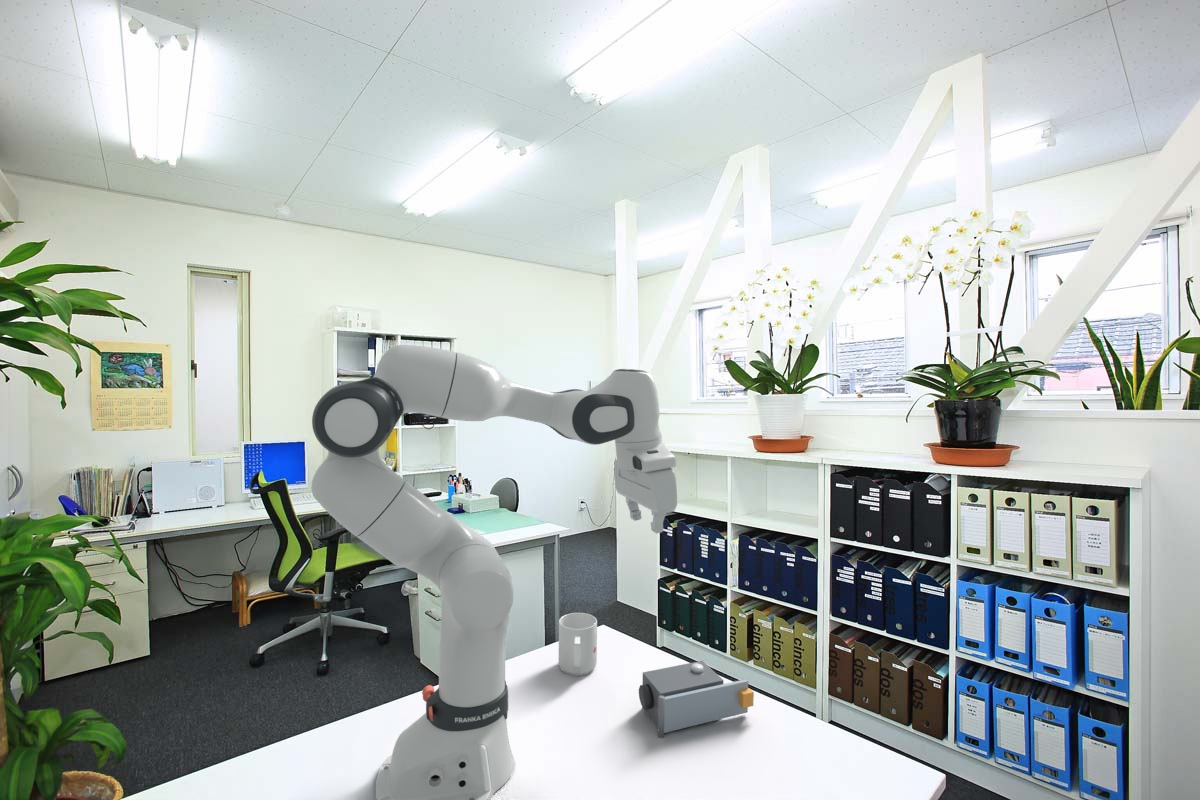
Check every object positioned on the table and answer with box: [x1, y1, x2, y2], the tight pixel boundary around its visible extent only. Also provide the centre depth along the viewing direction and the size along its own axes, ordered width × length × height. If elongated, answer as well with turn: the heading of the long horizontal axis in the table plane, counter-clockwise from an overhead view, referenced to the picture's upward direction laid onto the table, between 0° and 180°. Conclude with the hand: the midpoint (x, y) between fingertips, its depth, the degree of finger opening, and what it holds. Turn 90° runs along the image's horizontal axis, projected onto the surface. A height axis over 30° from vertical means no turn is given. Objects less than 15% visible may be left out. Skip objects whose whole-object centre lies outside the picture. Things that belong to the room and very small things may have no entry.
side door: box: [657, 678, 755, 739], centre depth 106 cm, size 20×2×7 cm, turn 111°
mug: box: [558, 612, 598, 677], centre depth 126 cm, size 12×9×11 cm
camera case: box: [638, 660, 724, 730], centre depth 110 cm, size 15×8×8 cm, turn 111°
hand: (646, 525), depth 104 cm, fingers open, 8 cm apart
